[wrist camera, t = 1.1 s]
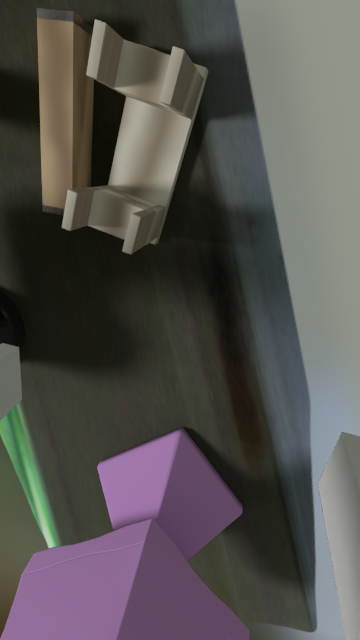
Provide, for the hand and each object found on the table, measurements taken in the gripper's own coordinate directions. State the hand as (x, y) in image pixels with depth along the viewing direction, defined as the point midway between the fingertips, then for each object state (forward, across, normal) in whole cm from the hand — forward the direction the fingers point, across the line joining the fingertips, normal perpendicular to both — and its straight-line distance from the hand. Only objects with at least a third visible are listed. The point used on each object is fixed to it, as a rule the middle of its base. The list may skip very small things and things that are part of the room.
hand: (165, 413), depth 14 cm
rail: (+35, -22, +10) cm, 42 cm away
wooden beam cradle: (+35, -12, +9) cm, 38 cm away
